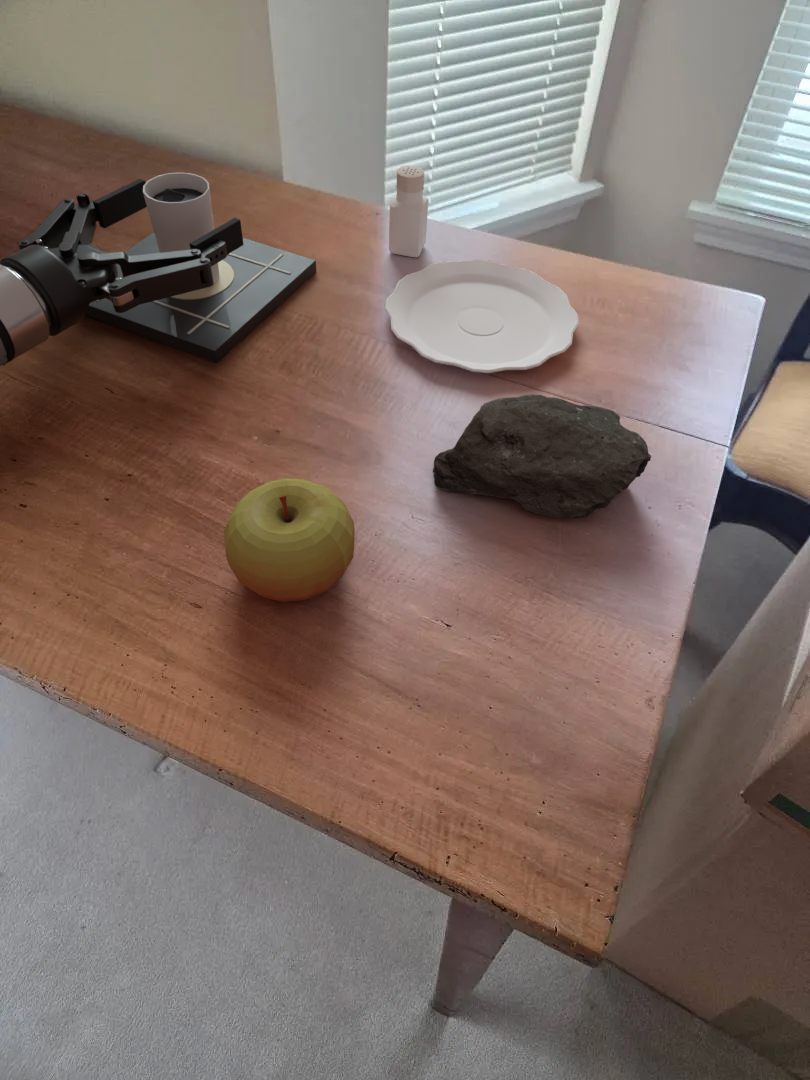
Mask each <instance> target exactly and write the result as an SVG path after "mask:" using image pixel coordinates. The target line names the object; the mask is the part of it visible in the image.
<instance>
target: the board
mask: <svg viewBox="0 0 810 1080" xmlns="http://www.w3.org/2000/svg"><path fill="white" fill-rule="evenodd" d="M243 244H244V245H242V246H241V247H239V248H238V249H236V250H234V251H233V252H231V253H229V254H228V255H227V257H226V258H225V259H223V260H221V261H220V262H218V267H219V279H218V280H217V282H216V283H215V284H213V285H212V286H211V287H208V288H204V289H201V290H195V291H191V292H187V293H183V294H179V295H175V296H172V297H168V298H164V299H160V300H156V301H152V302H148V303H144V304H140V305H138V306H136V307H134V308H132V309H130V310H128V311H126V312H123V313H117V312H115V310H114V306H113V303H112V302H111V301H110V300H108V299H106V298H104V299H100V300H96V301H93V302H91V303H90V304H89V306H88V308H87V310H86V313H85V316H88V317H91V318H93V319H96V320H99V321H101V322H104V323H107V324H110V325H112V326H115V327H118V328H121V329H124V330H126V331H129V332H132V333H134V334H137V335H140V336H141V337H142V336H143V337H145V338H148V339H151V340H153V341H156V342H158V343H161V344H164V345H167V346H169V347H173V348H175V349H178V350H179V351H184V352H186V353H189V354H192V355H194V356H197V357H200V358H203V359H205V360H207V361H211V362H214V363H216V364H217V363H219V362H220V361H221V360H222V359H223V358H224V357H225V356H226V355H227V354H228V353H229V352H231V351H232V350H233V349H234V348H235V347H236V346H237V345H238V344H240V342H242V341H243V340H244V339H245V338H246V337H247V336H248V335H250V333H251V332H252V331H254V330H255V329H256V328H257V327H258V326H259V325H260V324H261V323H262V322H263V321H265V320H266V319H267V318H268V317H269V316H270V315H271V314H272V313H273V312H274V311H276V310H277V309H278V308H279V307H280V306H281V305H282V304H283V303H285V301H286V300H287V299H289V298H290V297H291V296H292V295H293V294H294V293H296V291H297V290H298V289H299V288H301V286H303V285H304V284H305V283H306V282H308V280H309V279H310V278H312V277H313V275H315V274H316V273H317V261H316V259H313V258H310V257H306V256H304V255H300V254H297V253H294V252H290V251H287V250H284V249H281V248H278V247H274V246H271V245H268V244H265V243H261V242H258V241H256V240H253V239H249V238H246V237H243ZM123 252H124V253H126V254H127V255H128V256H132V255H142V254H151V253H160V252H159V248H158V245H157V241H156V237H155V234H154V231H153V232H151V233H150V234H149V235H147V236H146V237H144V238H143V239H141V240H139V242H137V243H136V244H135V245H132V246H131V247H130V248H129V249H127V250H125V251H123ZM116 266H117V270H118V277H121V278H123V274H122V271H121V267H120V265H119V264H116Z"/></svg>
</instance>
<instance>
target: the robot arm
mask: <svg viewBox="0 0 810 1080" xmlns="http://www.w3.org/2000/svg"><path fill="white" fill-rule="evenodd" d="M145 183H146V180H144V179H142V178H137V179H136V180H134V181H131V182H130V183H127V184H126V185H123V186H121V187H120V188H117V189H115V190H112V191H111V192H109V193H107V194H105V195H102V196H100V197H99V198H96V199H94V200H92V201H90V196H89V194H88V193H78V194H77V195H76V201H77V203H75V201H74V198H72V197H71V198H70V197H65V198H63V199H62V200H60V202H59V203H58V204H57V205H56V206H55V207H54V208H53V210H52V211H51V212H50V213H49V214H48V215H47V217H45V218H44V220H43V221H42V222H41V223H40V224H39V225H38V227H37V228H36V229H34V231H33V232H32V233H30V234H29V235H27V236H26V237H24V238H22V239H20V240H19V241H17V246H18V248H19V250H18V251H16V252H14V253H12V254H10V255H8V256H5V257H3V258H2V259H1V260H0V367H2V366H6V364H8V363H10V362H12V361H13V360H15V359H16V358H18V357H20V356H22V355H23V354H25V353H28V352H29V351H31V350H32V349H34V348H36V347H38V346H39V345H42V344H43V343H44V342H46V341H47V340H48V339H49V338H50V337H55V336H58V335H59V334H61V333H63V332H64V331H67V330H68V329H69V328H71V327H73V326H75V325H76V324H78V323H80V322H81V321H82V320H83V319H84V318H85V316H86V315H85V313H86V310H87V308H88V306H89V304H90V303H91V302H93V301H96V300H100V299H104V298H106V299H108V300H110V301H111V302H112V303H113V306H114V310H115V312H117V313H123V312H126V311H128V310H130V309H132V308H134V307H136V306H138V305H140V304H144V303H148V302H152V301H156V300H160V299H164V298H168V297H172V296H175V295H179V294H183V293H187V292H191V291H195V290H199V289H203V288H207V287H211V286H212V285H213V284H214V282H213V276H212V270H211V267H212V266H213V265H215V264H217V263H218V262H220V261H221V260H223V259H225V258H226V257H227V255H228V254H229V253H231V252H233V251H234V250H236V249H238V248H239V247H241V246H242V245H244V244H243V238H244V237H243V230H242V222H241V219H239V218H236V217H233V218H231V219H229V220H228V221H226V222H225V223H222V224H221V225H219V226H217V227H215V228H214V230H212V231H211V232H209V233H207V234H205V235H204V236H202V237H200V238H198V239H197V240H195V241H193V242H191V243H190V244H189V245H190V250H180V251H171V252H161V253H151V254H142V255H132V256H128V255H127V254H126V253H124V252H125V251H113V252H110V251H107V250H102V249H100V248H98V247H97V246H96V245H94V244H93V240H94V238H95V237H94V236H95V234H96V230H97V227H98V225H99V227H100V228H102V229H107V228H109V227H110V226H113V225H115V224H117V223H119V222H121V221H123V220H124V219H127V218H128V217H130V216H133V215H134V214H136V213H138V212H140V211H142V210H144V209H146V208H147V205H146V201H145V198H144V194H143V186H144V185H145ZM97 222H98V225H97ZM116 264H119V265H120V267H121V271H122V274H123V278H121V277H118V270H117V266H116Z"/></svg>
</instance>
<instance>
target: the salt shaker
mask: <svg viewBox="0 0 810 1080" xmlns="http://www.w3.org/2000/svg"><path fill="white" fill-rule="evenodd" d="M424 185H425V170H424V168H421V167H420V166H417V165H411V164H410V165H409V164H408V165H407V164H406V165H402V166H400V167H398V168H397V169H396V186H395V187H396V193H395V194H394V195H393V197H392V198H391V200H390V203H389V214H388V215H389V220H388V222H389V223H388V251H389V253H391V254H394V255H398V256H405V257H411V258H418V257H420V255H421V252H422V251H423V249H424V247H425V244H426V242H427V226H428V215H429V213H428V212H429V198H428V197H427V196H426V195H425V194H423V192H424V188H425V186H424Z"/></svg>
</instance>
